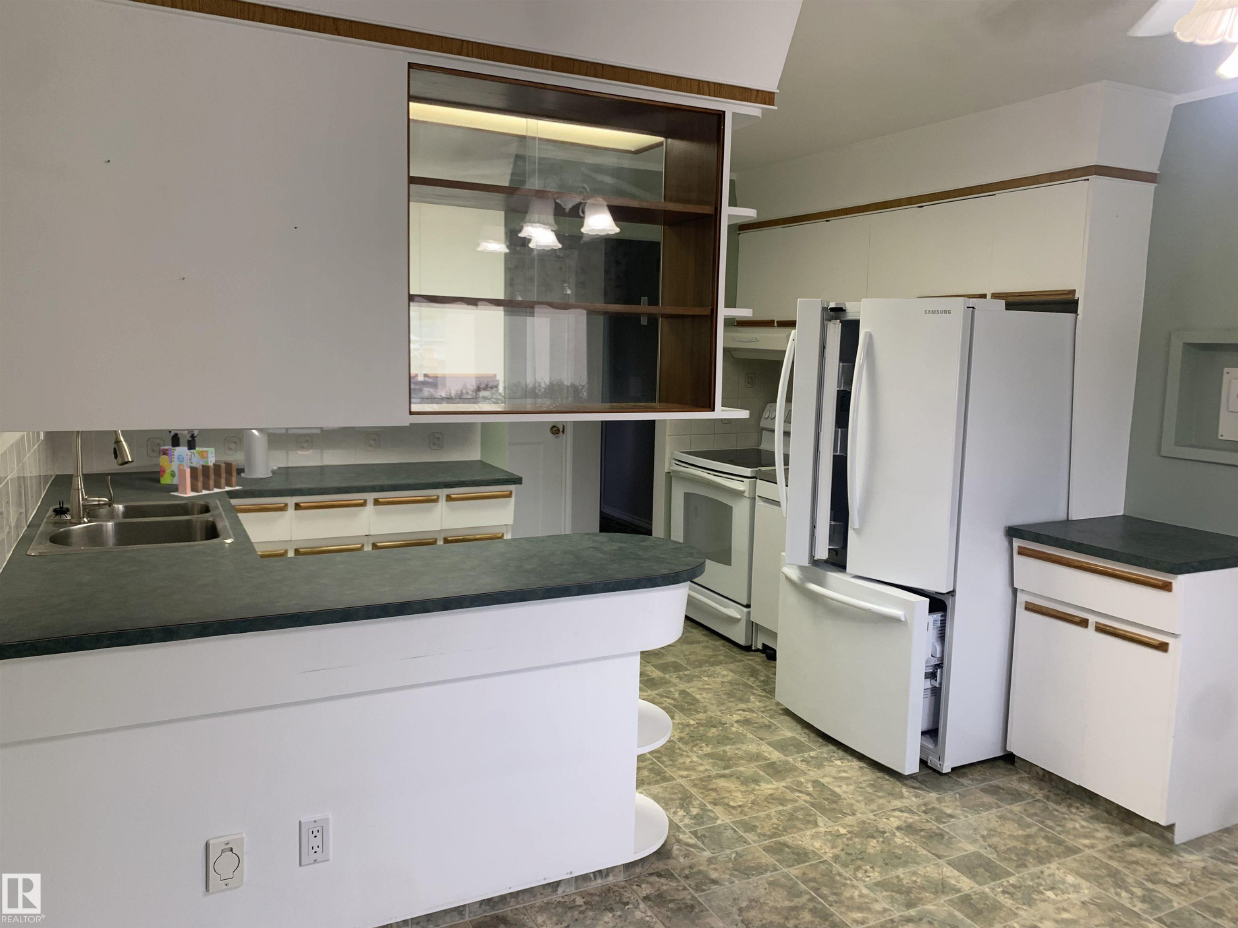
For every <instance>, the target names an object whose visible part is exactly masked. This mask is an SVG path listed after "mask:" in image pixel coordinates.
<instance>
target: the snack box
mask: <svg viewBox="0 0 1238 928" xmlns="http://www.w3.org/2000/svg"><path fill="white" fill-rule="evenodd" d="M215 454H216V450H215V448H214V447H208V448H207V447H196V450H187V446H180V447H175V448H172V447H171V446H170V445H169V446H168V445H166V446H161V447H159V476H160V477H159V480H160V481H159V482H160V483H159V484H166V485H168V484H170V485H178V467H184V468H190V466H199V467H202V466H201V465H202V464H207V465H213V463H216V455H215Z"/></svg>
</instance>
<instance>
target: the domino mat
mask: <svg viewBox="0 0 1238 928" xmlns="http://www.w3.org/2000/svg"><path fill="white" fill-rule="evenodd" d="M242 488H243V487H242V486H237V485H236V487H235V488H231V487H226V486H225V489H216V488H214V491H206V490H202V491H203V493H196V492H191V494H190V495H185V494H180V493H179V491H176V492H169V494H170V495H175V496H180V497H185V498H186V497H193V496H198V495H204V494H205V495H206V494H212V493H217V492H218V493H219V492H223V491H224V492H225V491H230V490H237V489H238V490H239V489H242Z"/></svg>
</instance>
